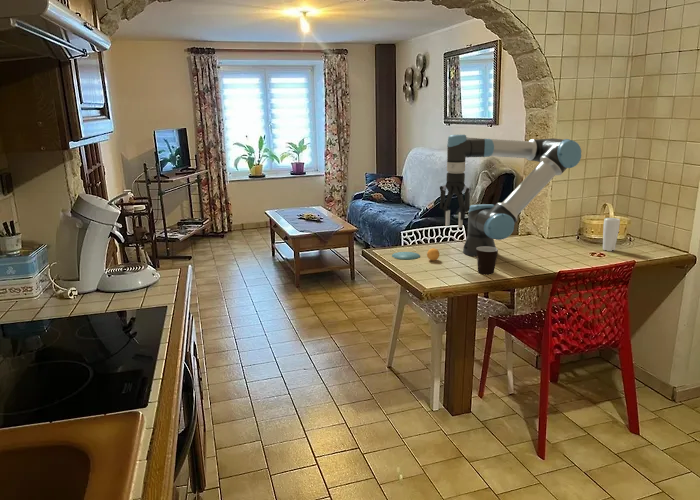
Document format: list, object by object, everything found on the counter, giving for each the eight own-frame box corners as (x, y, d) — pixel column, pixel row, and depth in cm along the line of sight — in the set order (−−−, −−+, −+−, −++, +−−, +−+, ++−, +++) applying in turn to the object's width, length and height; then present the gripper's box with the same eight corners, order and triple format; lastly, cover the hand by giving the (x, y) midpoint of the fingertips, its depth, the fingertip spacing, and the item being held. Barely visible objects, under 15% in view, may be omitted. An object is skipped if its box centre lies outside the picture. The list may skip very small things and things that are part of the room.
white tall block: (617, 249, 249) (621, 218, 245) (615, 252, 244) (619, 221, 240) (601, 247, 253) (605, 217, 249) (599, 250, 247) (603, 219, 243)
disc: (425, 254, 246) (425, 254, 246) (411, 261, 235) (411, 260, 235) (400, 250, 253) (400, 250, 253) (386, 257, 243) (386, 256, 243)
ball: (441, 259, 237) (441, 248, 235) (435, 262, 233) (436, 250, 231) (430, 258, 240) (430, 246, 239) (424, 260, 236) (424, 248, 234)
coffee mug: (493, 276, 212) (494, 252, 209) (472, 273, 216) (473, 250, 214) (501, 269, 221) (502, 246, 219) (481, 266, 226) (482, 243, 223)
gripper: (432, 171, 223) (430, 225, 229) (472, 174, 212) (470, 230, 218) (439, 170, 229) (438, 222, 235) (480, 172, 218) (477, 227, 224)
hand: (453, 226), depth 227 cm, fingers open, 5 cm apart
